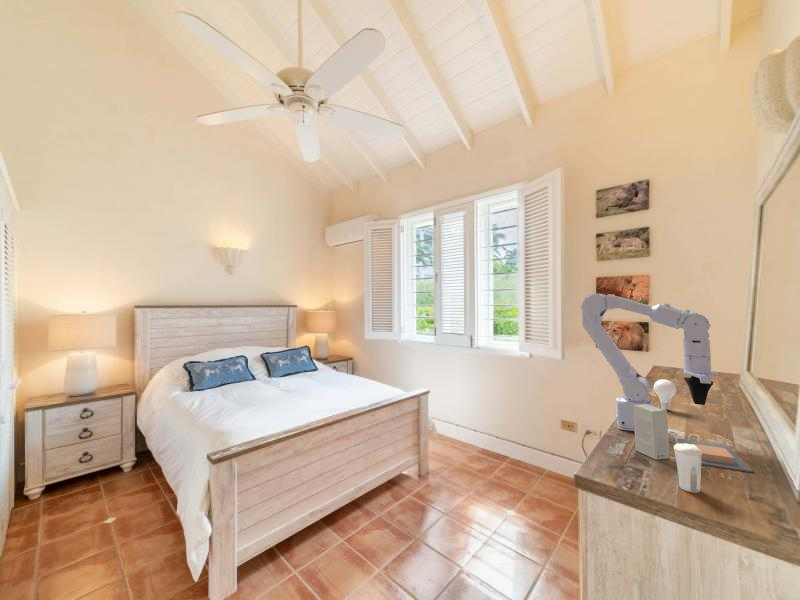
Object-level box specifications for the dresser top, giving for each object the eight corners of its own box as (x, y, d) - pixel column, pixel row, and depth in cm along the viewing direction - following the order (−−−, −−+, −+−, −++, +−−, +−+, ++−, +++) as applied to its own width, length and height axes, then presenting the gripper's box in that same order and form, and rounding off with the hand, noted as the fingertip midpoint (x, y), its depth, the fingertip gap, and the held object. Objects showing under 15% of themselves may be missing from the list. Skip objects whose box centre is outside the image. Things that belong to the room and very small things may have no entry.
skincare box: (670, 458, 82) (667, 410, 83) (655, 460, 82) (652, 411, 82) (648, 448, 88) (646, 403, 89) (634, 450, 88) (632, 404, 88)
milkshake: (686, 480, 72) (684, 434, 72) (710, 494, 67) (708, 444, 67) (666, 481, 72) (664, 435, 72) (688, 495, 67) (686, 445, 67)
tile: (693, 450, 86) (701, 459, 81) (693, 444, 86) (700, 453, 81) (725, 454, 83) (734, 464, 78) (724, 448, 83) (734, 457, 78)
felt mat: (690, 463, 80) (690, 461, 80) (674, 439, 94) (674, 437, 94) (753, 472, 75) (753, 471, 75) (726, 446, 89) (726, 444, 89)
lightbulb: (650, 408, 121) (648, 378, 122) (662, 406, 123) (661, 377, 124) (668, 413, 115) (667, 382, 116) (681, 411, 117) (680, 380, 118)
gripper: (725, 360, 86) (728, 413, 85) (707, 353, 98) (709, 399, 98) (690, 358, 89) (692, 409, 89) (676, 352, 102) (678, 396, 101)
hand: (699, 404), depth 94 cm, fingers closed
